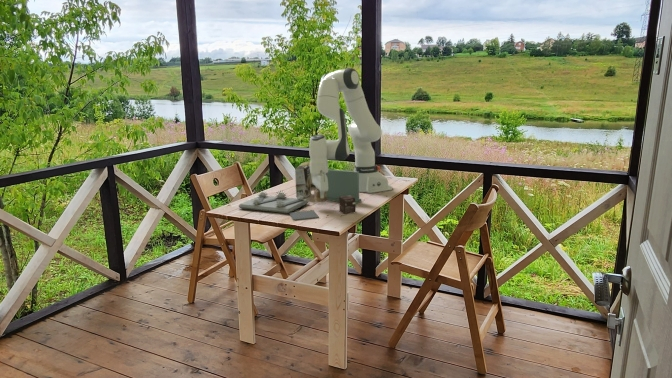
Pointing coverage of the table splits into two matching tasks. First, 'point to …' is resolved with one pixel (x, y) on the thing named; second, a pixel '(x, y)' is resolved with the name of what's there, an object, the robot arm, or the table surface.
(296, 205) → the grey spiky constellation board
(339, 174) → the screen
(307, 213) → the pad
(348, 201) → the box
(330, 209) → the table surface
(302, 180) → the coffee box
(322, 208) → the table surface
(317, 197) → the letter cube
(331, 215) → the table surface
